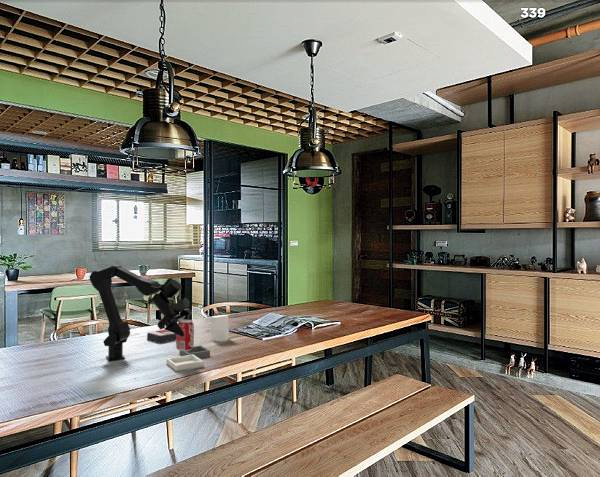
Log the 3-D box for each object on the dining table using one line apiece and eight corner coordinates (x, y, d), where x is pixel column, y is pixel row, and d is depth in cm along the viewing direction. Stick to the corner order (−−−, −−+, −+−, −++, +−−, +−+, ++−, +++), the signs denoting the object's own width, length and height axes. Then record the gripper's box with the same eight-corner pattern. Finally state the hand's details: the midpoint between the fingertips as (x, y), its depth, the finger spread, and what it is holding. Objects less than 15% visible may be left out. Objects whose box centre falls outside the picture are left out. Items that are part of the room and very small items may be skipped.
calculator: (184, 331, 226) (159, 334, 215) (184, 339, 226) (159, 343, 215) (172, 328, 233) (147, 331, 222) (171, 336, 233) (146, 339, 221)
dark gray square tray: (179, 354, 196) (179, 348, 196) (200, 350, 202) (201, 345, 202) (187, 359, 188) (187, 353, 188) (209, 356, 194) (210, 350, 194)
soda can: (192, 346, 185) (193, 318, 184) (194, 351, 178) (194, 322, 178) (175, 347, 182) (176, 319, 182) (176, 352, 176) (176, 322, 176)
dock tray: (166, 364, 182) (166, 358, 182) (193, 359, 188) (193, 354, 188) (175, 371, 172) (176, 365, 172) (203, 366, 179) (203, 361, 179)
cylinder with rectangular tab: (216, 342, 218) (216, 318, 218) (207, 338, 225) (207, 315, 225) (231, 339, 224) (231, 316, 224) (222, 336, 231) (222, 313, 231)
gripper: (164, 295, 172) (189, 326, 169) (188, 289, 190) (211, 317, 187) (147, 314, 174) (171, 344, 171) (172, 306, 192) (194, 333, 189)
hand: (188, 333), depth 180 cm, fingers closed on soda can, 7 cm apart
